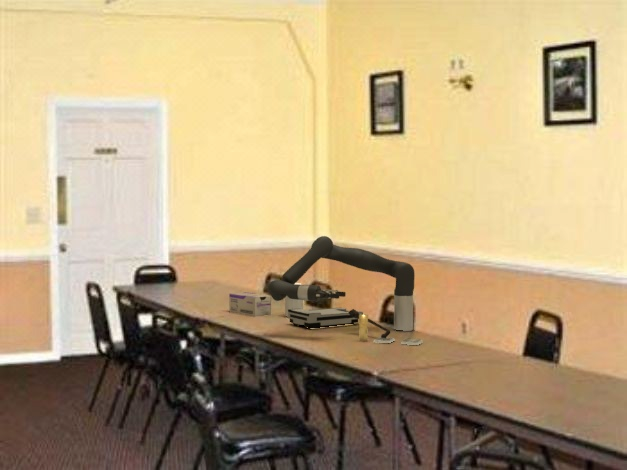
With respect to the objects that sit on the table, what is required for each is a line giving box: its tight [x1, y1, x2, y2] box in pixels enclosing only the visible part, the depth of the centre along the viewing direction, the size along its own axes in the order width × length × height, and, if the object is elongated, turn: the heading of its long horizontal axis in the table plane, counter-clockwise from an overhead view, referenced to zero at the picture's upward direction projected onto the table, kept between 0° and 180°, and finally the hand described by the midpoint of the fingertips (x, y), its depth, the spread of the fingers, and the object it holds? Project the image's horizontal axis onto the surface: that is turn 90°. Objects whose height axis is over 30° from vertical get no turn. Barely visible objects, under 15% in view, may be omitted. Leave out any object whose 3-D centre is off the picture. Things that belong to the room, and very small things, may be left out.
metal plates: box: [373, 336, 424, 346], centre depth 438 cm, size 8×20×2 cm, turn 67°
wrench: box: [348, 308, 391, 338], centre depth 456 cm, size 5×5×30 cm
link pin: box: [358, 313, 369, 342], centre depth 444 cm, size 4×4×12 cm
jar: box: [284, 282, 304, 318], centre depth 524 cm, size 10×10×18 cm
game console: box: [287, 307, 364, 329], centre depth 494 cm, size 21×32×8 cm, turn 121°
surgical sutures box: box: [228, 291, 272, 318], centre depth 538 cm, size 25×11×11 cm, turn 38°
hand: (342, 295), depth 447 cm, fingers open, 8 cm apart
